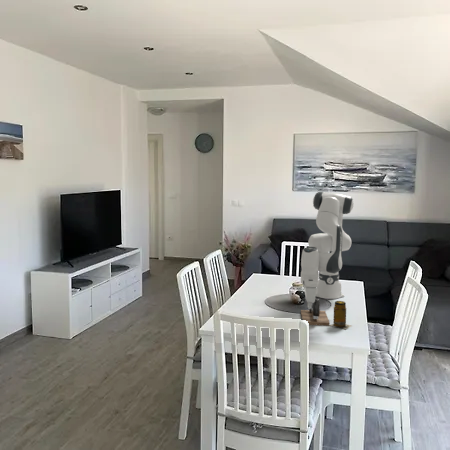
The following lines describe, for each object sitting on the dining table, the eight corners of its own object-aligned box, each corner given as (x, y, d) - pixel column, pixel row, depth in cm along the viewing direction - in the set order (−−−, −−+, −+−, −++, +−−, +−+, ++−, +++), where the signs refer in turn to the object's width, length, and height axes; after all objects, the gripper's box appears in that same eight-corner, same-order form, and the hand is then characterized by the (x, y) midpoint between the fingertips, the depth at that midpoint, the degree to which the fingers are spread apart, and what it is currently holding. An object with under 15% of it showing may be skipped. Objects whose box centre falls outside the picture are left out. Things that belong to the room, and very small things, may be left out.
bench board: (300, 312, 248) (300, 310, 248) (325, 313, 247) (325, 310, 247) (303, 324, 228) (303, 321, 228) (329, 325, 227) (329, 322, 227)
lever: (308, 309, 247) (309, 290, 245) (317, 310, 246) (317, 291, 245) (311, 320, 228) (312, 300, 227) (320, 321, 227) (321, 300, 226)
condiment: (336, 322, 232) (337, 299, 231) (352, 326, 227) (353, 302, 225) (329, 325, 227) (330, 302, 225) (345, 329, 221) (346, 305, 220)
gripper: (301, 275, 239) (301, 300, 240) (304, 284, 218) (304, 312, 220) (314, 275, 238) (313, 301, 239) (318, 284, 218) (317, 312, 219)
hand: (309, 306), depth 229 cm, fingers open, 3 cm apart
